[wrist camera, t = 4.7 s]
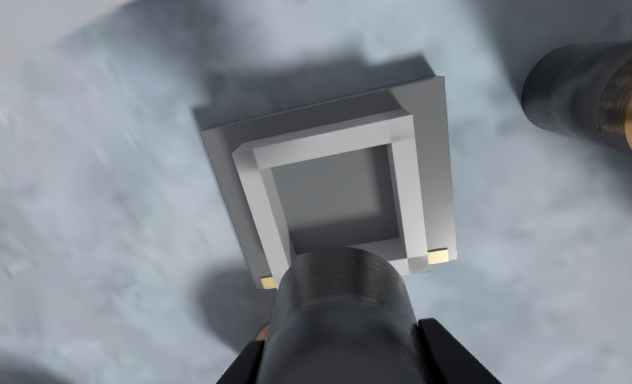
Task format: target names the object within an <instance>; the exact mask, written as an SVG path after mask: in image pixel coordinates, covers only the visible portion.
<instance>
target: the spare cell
mask: <svg viewBox="0 0 632 384" xmlns="http://www.w3.org/2000/svg"><path fill="white" fill-rule="evenodd" d="M522 107H523V110H524V113H525V115H526V117H527V118H528V119H529V121H530V122H532V123H533V124H534V125H536V126H537V127H539V128H542V129H545V130H548V131H551V132H555V133H558V134H561V135H564V136H567V137H570V138H574V139H577V140H580V141H583V142H586V143H590V144H593V145H596V146H599V147H602V148H605V149H609V150H612V151H615V152H618V153H621V154H625V155H628V156H631V157H632V40H627V41H614V42H601V43H588V44H575V45H568V46H565V47H561V48H559V49H557V50H555V51H553V52H551V53H549V54H548V55H547V56H545V57H544V58H543V59H542V60H540V61H539V62H538V63H537V64H536V66H535V67H534V68H533V69H532V71H531V72H530V74H529V75H528V77H527V79H526V81H525V84H524V87H523V91H522Z"/></svg>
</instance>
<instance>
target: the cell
mask: <svg viewBox="0 0 632 384" xmlns="http://www.w3.org/2000/svg"><path fill="white" fill-rule="evenodd" d="M255 384H437V383H436V380H435V377H434V374H433V371H432V368H431V365H430V362H429V359H428V356H427V353H426V349H425V346H424V343H423V340H422V337H421V334H420V331H419V328H418V324H417V321H416V318H415V315H414V312H413V308H412V305H411V302H410V299H409V296H408V293H407V290H406V287H405V284H404V282H403V279H402V278H401V276H400V274H399V273H398V272H397V270H396V269H395V268H394V267H393V266H392V265H391V264H390V263H389V262H387V261H386V260H384V259H383V258H381V257H380V256H378V255H376V254H374V253H372V252H369V251H366V250H363V249H359V248H353V247H329V248H324V249H320V250H317V251H314V252H311V253H309V254H307V255H305V256H303V257H302V258H300V259H299V260H297V261H296V262H295V263H294V264H292V265H291V266H290V267H289V269H288V270H287V271H286V272H285V274H284V275H283V277H282V279H281V281H280V284H279V287H278V291H277V295H276V300H275V304H274V308H273V312H272V316H271V320H270V324H269V328H268V332H267V336H266V340H265V344H264V348H263V352H262V356H261V360H260V364H259V368H258V372H257V376H256V380H255Z"/></svg>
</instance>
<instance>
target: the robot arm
mask: <svg viewBox="0 0 632 384" xmlns="http://www.w3.org/2000/svg"><path fill="white" fill-rule="evenodd" d="M418 328H419V331H420V334H421V337H422V340H423V343H424V346H425V349H426V353H427V356H428V359H429V362H430V365H431V368H432V371H433V374H434V377H435V380H436V383H437V384H502V383H501V382H500V381H499V380H498V379H497V378H496V377H494V376H493V375H492V374H491V373H490V372H489V371H488V370H487V369H486V368H485V367H484V366H483V365H482V364H481V363H480V362H479V361H478V360H477V359H476V358H475V357H474V356H473V355H472V354H471V353H470V352H469V351H468V350H467V349H466V348H465V347H464V346H463V345H462V344H461V343H460V342H459V341H458V340H457V339H456V338H454V337H453V336H452V335H451V334H450V333H449V332H448V331H447V330H446V329H445V328H444V327H443V326H442V325H441V324H440V323H439V322H438V321H437V320H436V319H434V318H426V319H420V320H419V321H418ZM264 344H265V340H255V341H251V342H249V343H248V345H247V346H246V347H245V348H244V349H243V351H242V352H241V353H240V354H239V356H238V357H237V358H236V359H235V361H234V362H233V363H232V364H231V365H230V367H229V368H228V369H227V370H226V372H225V373H224V374H223V375H222V377H221V378H220V379H219V380H218V381H217V383H216V384H255V380H256V376H257V372H258V368H259V364H260V360H261V356H262V352H263V348H264Z"/></svg>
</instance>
